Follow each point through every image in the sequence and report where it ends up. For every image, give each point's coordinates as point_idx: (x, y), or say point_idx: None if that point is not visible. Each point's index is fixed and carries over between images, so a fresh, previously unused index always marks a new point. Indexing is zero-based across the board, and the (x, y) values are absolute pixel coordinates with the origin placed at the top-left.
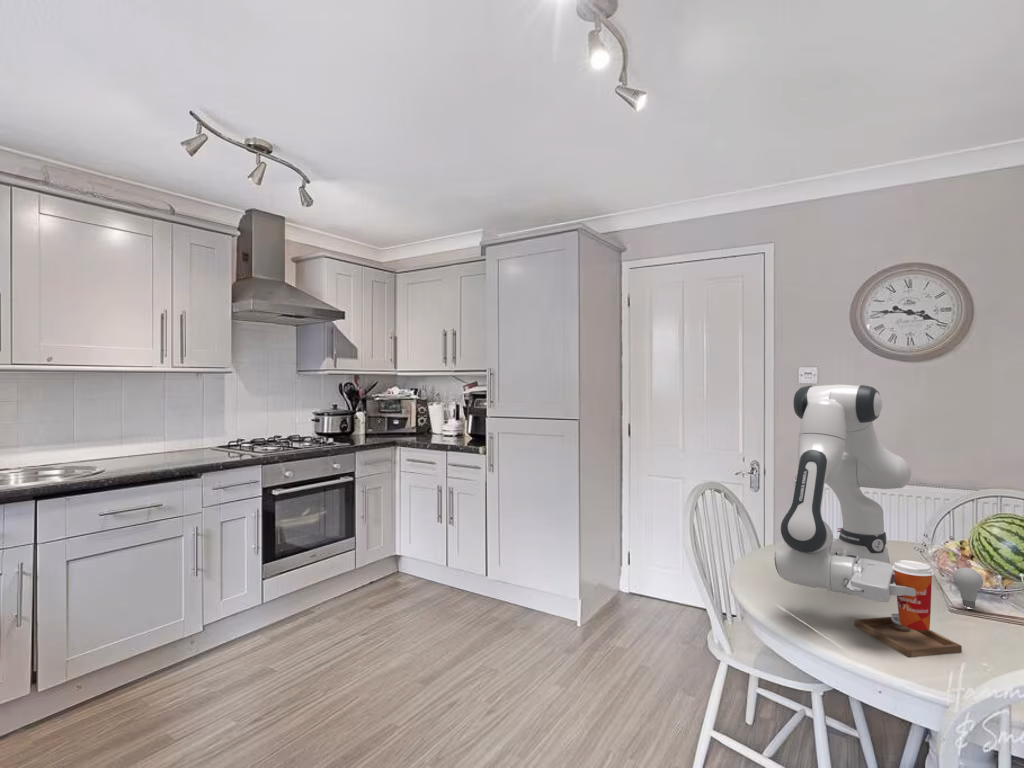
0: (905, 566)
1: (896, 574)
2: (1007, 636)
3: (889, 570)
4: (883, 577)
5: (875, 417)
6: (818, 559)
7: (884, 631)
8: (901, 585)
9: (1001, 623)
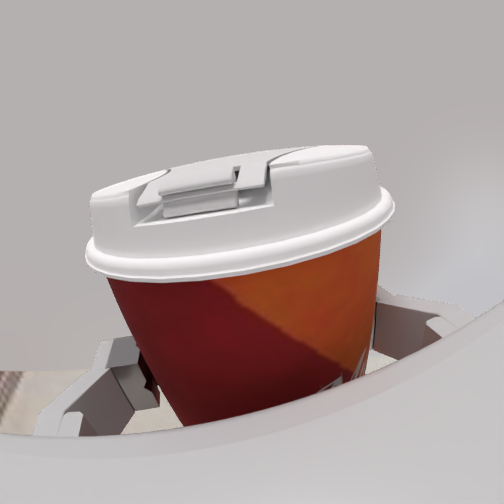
0: (335, 148)
1: (363, 277)
2: (78, 377)
3: (62, 452)
4: (461, 382)
5: None
6: None
7: None
8: (371, 328)
9: (24, 384)
